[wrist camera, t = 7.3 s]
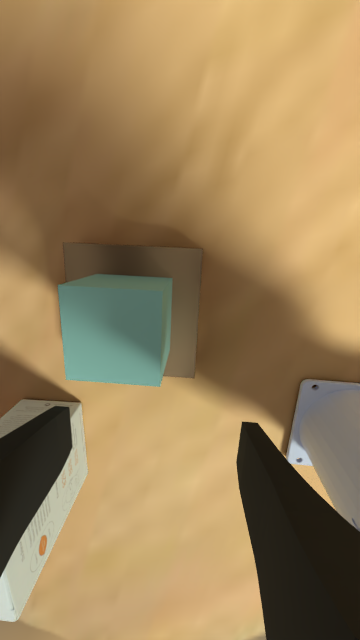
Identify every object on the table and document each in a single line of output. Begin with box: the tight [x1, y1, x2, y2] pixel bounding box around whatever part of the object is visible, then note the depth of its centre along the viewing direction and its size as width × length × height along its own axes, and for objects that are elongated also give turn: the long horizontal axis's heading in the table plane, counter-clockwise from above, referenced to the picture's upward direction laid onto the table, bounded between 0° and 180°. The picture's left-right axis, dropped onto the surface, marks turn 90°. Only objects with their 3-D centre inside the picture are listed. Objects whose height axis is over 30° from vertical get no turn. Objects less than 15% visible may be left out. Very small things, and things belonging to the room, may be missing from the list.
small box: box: [0, 399, 88, 622], centre depth 19 cm, size 8×6×10 cm
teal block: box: [58, 274, 173, 387], centre depth 15 cm, size 5×5×5 cm
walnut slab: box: [63, 243, 203, 378], centre depth 19 cm, size 9×9×3 cm
